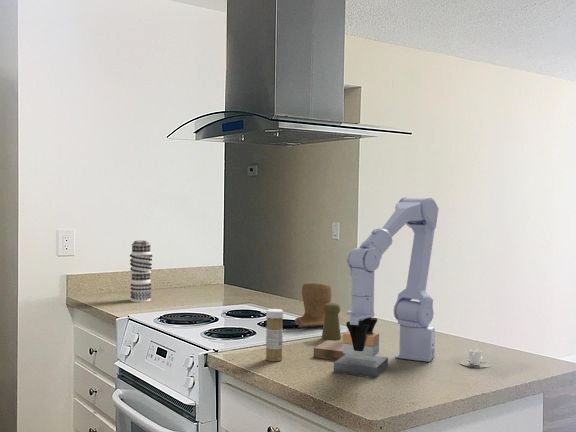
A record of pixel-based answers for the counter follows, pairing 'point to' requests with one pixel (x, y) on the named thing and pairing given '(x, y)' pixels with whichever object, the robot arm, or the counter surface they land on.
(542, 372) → the counter surface
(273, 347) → the sprinkles bottle
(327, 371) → the counter surface
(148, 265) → the decorative candle
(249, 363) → the counter surface
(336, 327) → the olive tapered column
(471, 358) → the teacup and saucer
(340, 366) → the stand
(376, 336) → the block
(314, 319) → the tan boot
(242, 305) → the counter surface
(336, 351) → the stand
